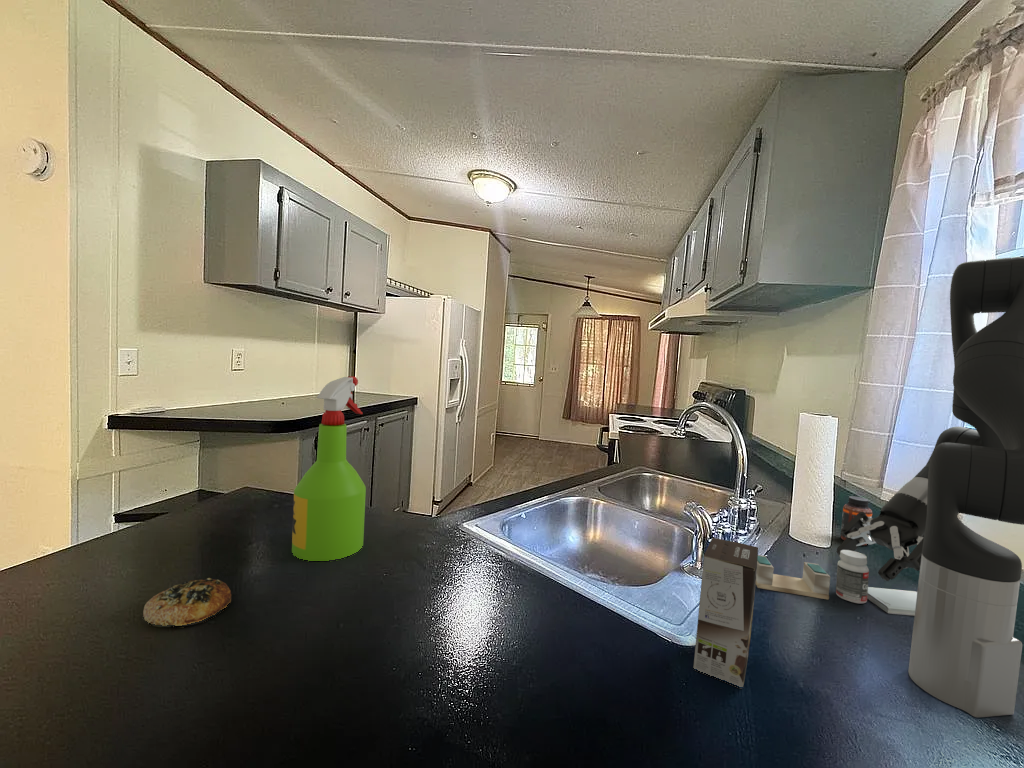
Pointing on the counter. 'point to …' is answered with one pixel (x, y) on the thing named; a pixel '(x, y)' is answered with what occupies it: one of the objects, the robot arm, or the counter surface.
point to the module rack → (794, 580)
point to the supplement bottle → (854, 511)
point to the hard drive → (893, 600)
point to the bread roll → (187, 602)
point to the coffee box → (726, 610)
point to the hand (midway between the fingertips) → (860, 566)
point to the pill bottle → (852, 577)
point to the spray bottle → (330, 487)
